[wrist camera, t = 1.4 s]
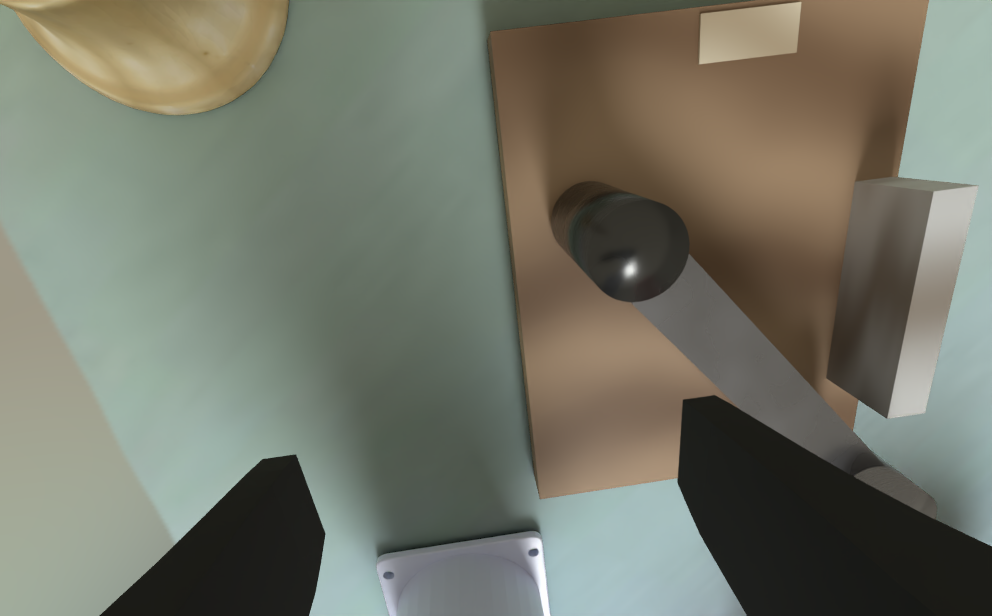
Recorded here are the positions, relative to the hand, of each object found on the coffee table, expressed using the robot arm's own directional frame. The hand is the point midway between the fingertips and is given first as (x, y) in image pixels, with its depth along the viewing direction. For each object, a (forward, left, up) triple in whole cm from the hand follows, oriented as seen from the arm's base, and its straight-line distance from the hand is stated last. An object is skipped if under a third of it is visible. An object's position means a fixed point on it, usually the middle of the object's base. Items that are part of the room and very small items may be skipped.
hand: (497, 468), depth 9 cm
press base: (0, -9, -11) cm, 14 cm away
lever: (-2, -8, -9) cm, 12 cm away
